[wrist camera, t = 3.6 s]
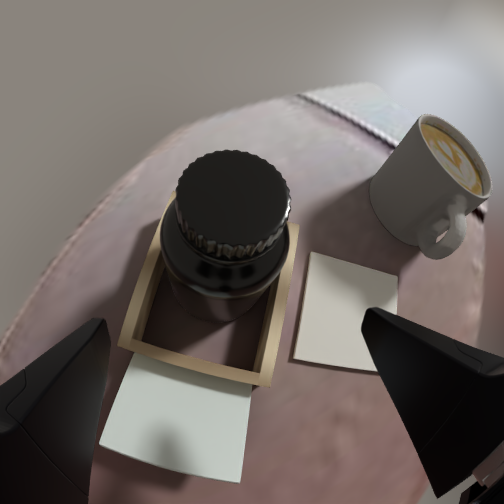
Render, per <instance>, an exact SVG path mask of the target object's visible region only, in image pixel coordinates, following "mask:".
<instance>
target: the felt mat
mask: <svg viewBox="0 0 504 504" xmlns="http://www.w3.org/2000/svg"><path fill="white" fill-rule="evenodd" d="M397 285H398V276H394V275H391V274H388V273H384V272H381V271H378V270H374V269H371V268H367V267H364V266H360V265H357V264H354V263H350V262H347V261H343V260H340V259H336V258H333V257H329V256H326V255H322V254H319V253H315V252H311V253H310V257H309V264H308V271H307V278H306V284H305V291H304V297H303V303H302V309H301V315H300V321H299V327H298V333H297V338H296V344H295V349H294V354H293V359H297V360H302V361H308V362H313V363H319V364H325V365H332V366H338V367H345V368H352V369H360V370H368V371H376V372H378V371H377V369H376V367H375V365H374V363H373V360H372V358H371V355H370V353H369V350H368V348H367V345H366V343H365V340H364V338H363V335H362V333H361V325H362V321H363V318H364V315H365V311H366V310H367V309H368V308H371V307H379V308H381V309H383V310H386V311H388V312H391V313H393V314H395V315H396V313H397Z"/></svg>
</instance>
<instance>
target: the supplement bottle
mask: <svg viewBox="0 0 504 504" xmlns="http://www.w3.org/2000/svg"><path fill="white" fill-rule="evenodd" d="M289 192H290V190H289V188H288V187H287V185H286V181H285V179H283V178H282V175H281V173H280V172H279V171H277V170H276V169H275V167H274V166H273V165H271V164H269V163H268V162H267V161H266V160H264V159H261V158H260V157H258V156H257V155H252V154H250V153H248V152H241V151H238V150H233V151H230V150H224V151H215V152H213V153H208V154H205V155H204V156H203V157H199V158H197V159H196V161H195V162H193V163H190V164H189V166H188V168H187V169H185V170H184V171H183V175H182V176H181V177H180V178H179V180H178V186H177V188H176V197H175V198H174V200H173V201H172V202H171V203H170V205H169V206H168V208H167V210H166V212H165V214H164V216H163V219H162V222H161V227H160V246H161V252H162V256H163V260H164V263H165V266H166V270H167V273H168V276H169V280H170V283H171V286H172V289H173V292H174V294H175V297H176V298H177V300H178V302H179V303H180V305H181V306H182V307H183V308H184V309H185V310H186V311H187V312H188V313H190V314H191V315H192V316H194V317H196V318H198V319H200V320H203V321H207V322H214V323H219V322H227V321H230V320H233V319H236V318H238V317H240V316H241V315H243V314H244V313H245V312H247V311H248V310H249V309H250V308H251V307H252V306H253V305H254V303H255V302H256V301H257V300H258V299H259V298H260V296H261V295H262V294H263V293H264V292H265V290H266V289H267V288H268V287H269V286H270V285H271V283H272V282H273V281H274V280H275V278H276V277H277V276H278V274H279V273H280V271H281V270H282V268H283V266H284V264H285V262H286V259H287V256H288V252H289V246H290V234H289V228H288V224H287V221H288V217H289V215H288V214H289V213H290V211H291V206H290V202H291V197H290V195H289Z"/></svg>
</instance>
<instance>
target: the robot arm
mask: <svg viewBox="0 0 504 504" xmlns="http://www.w3.org/2000/svg"><path fill="white" fill-rule="evenodd" d="M361 333H362V335H363V338H364V340H365V343H366V345H367V348H368V350H369V353H370V355H371V358H372V360H373V363H374V365H375V367H376V369H377V371H378V373H379V375H380V377H381V379H382V381H383V383H384V385H385V387H386V389H387V391H388V393H389V395H390V397H391V399H392V401H393V403H394V405H395V407H396V409H397V411H398V413H399V415H400V417H401V419H402V421H403V423H404V425H405V427H406V430H407V432H408V434H409V436H410V438H411V440H412V442H413V445H414V447H415V449H416V451H417V453H418V456H419V458H420V461H421V463H422V465H423V467H424V470H425V472H426V474H427V477H428V479H429V481H430V484H431V486H432V489H433V491H434V494H435V496H436V497H437V498H440V497H441V496H443V495H444V494H446V493H447V492H449V491H450V490H451V489H453V488H455V487H456V486H457V485H459V484H460V483H462V482H463V481H464V480H466V479H467V478H468V477H470V476H471V475H472V474H473V475H474V476H475V478H476V479H477V482H475V483H474V484H473V485H472V486H470V487H469V488H468V489H467V490H465V491H464V492H463V493H462V494H461V497H460V502H459V504H504V358H503V357H500V356H497V355H494V354H491V353H488V352H486V351H483V350H480V349H477V348H474V347H472V346H469V345H467V344H464V343H462V342H459V341H457V340H455V339H452V338H450V337H447V336H445V335H443V334H440V333H438V332H436V331H433V330H431V329H428V328H426V327H424V326H421V325H419V324H417V323H414V322H412V321H409V320H407V319H405V318H402V317H400V316H398V315H395V314H393V313H391V312H388V311H386V310H383V309H381V308H379V307H371V308H368V309H367V310H366V311H365V315H364V318H363V321H362V325H361ZM110 347H111V340H110V336H109V332H108V328H107V323H106V321H105V319H103V318H92V319H91V320H89V321H88V322H87V323H85V324H84V325H82V326H81V327H80V328H78V329H77V330H75V331H74V332H73V333H71V334H70V335H69V336H67V337H66V338H64V339H63V340H62V341H60V342H59V343H58V344H56V345H55V346H53V347H52V348H51V349H49V350H48V351H47V352H45V353H44V354H43V355H41V356H40V357H39V358H37V359H36V360H34V361H33V362H32V363H30V364H29V365H28V366H27V367H25V369H22V370H21V371H20V372H19V373H17V374H16V375H15V376H13V377H12V378H10V379H9V380H8V381H6V382H5V383H4V384H2V385H1V386H0V504H88V496H89V485H90V475H91V467H92V459H93V452H94V445H95V439H96V433H97V427H98V421H99V416H100V411H101V406H102V401H103V396H104V391H105V386H106V380H107V371H108V362H109V354H110Z"/></svg>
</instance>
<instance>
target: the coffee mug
mask: <svg viewBox="0 0 504 504" xmlns="http://www.w3.org/2000/svg"><path fill="white" fill-rule="evenodd" d="M491 181H492V180H491V177H490V174H489V171H488V169H487V167H486V165H485V163H484V161H483V159H482V157H481V156H480V154H479V153H478V151H477V150H476V149H475V147H474V146H473V145H472V144H471V142H470V141H469V140H468V139H467V138H466V137H465V136H464V135H463V134H462V133H461V132H460V131H459V130H457V129H456V128H455V127H454V126H453V125H451V124H450V123H448V122H447V121H445V120H443V119H442V118H440V117H437V116H434V115H431V114H424V115H422V116H420V117H419V118H418V120H417V121H416V122H415V124H414V125H413V126H412V128H411V129H410V130H409V132H408V133H407V134H406V136H405V137H404V138H403V140H402V141H401V142H400V143H399V145H398V146H397V147H396V149H395V150H394V151H393V153H392V154H391V155H390V156H389V158H388V159H387V160H386V162H385V163H384V164H383V165H382V167H381V168H380V169H379V170H378V172H377V173H376V174H375V176H374V177H373V178H372V180H371V182H370V186H369V196H370V201H371V204H372V207H373V209H374V212H375V213H376V215H377V217H378V219H379V220H380V222H381V223H382V224H383V225H384V227H385V228H386V229H387V230H388V231H389V232H390V233H391V234H392V235H393V236H395V237H396V238H397V239H399V240H400V241H402V242H404V243H406V244H409V245H412V246H419V247H420V249H421V251H422V253H423V254H424V255H425V256H426V257H428V258H431V259H435V260H438V259H442V258H445V257H447V256H449V255H450V254H452V253H453V252H454V251H455V250H456V249H457V248H459V246H460V245H461V243H462V242H463V240H464V237H465V234H466V217H465V216H466V215H468V214H469V213H470V212H472V211H473V210H474V209H475V208H477V207H478V206H479V205H480V204H482V203H483V202H484V201H485V200H487V199H488V198H489V197H490V195H491V193H492V182H491ZM447 230H448V231H447ZM445 231H447V233H446V234H445V236H444V237H443V238H442V239H441V240H440V241H439V242H437V243H436V239H437V237H438V236H440V235H441V234H442V233H444V232H445Z"/></svg>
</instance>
